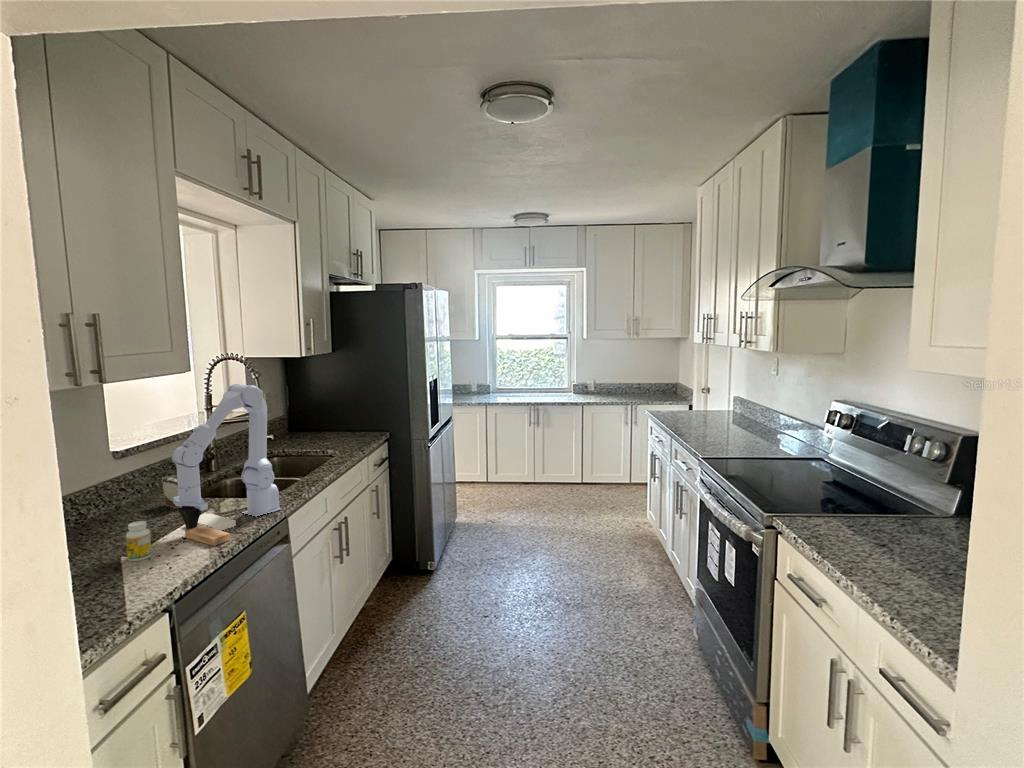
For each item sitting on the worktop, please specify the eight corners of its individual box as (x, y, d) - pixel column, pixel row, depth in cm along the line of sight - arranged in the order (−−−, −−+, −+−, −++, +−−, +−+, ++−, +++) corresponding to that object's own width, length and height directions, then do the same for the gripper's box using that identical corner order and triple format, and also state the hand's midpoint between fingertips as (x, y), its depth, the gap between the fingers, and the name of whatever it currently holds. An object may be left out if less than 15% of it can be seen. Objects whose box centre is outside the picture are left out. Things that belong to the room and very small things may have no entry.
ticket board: (209, 519, 173) (208, 512, 172) (235, 526, 166) (235, 519, 166) (185, 526, 166) (185, 519, 166) (212, 534, 159) (212, 527, 159)
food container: (199, 505, 187) (198, 477, 186) (181, 510, 181) (179, 482, 180) (181, 500, 193) (179, 473, 192) (163, 504, 188) (161, 477, 187)
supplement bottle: (155, 556, 144) (153, 522, 143) (133, 563, 139) (130, 528, 138) (145, 552, 146) (143, 518, 146) (123, 559, 142) (121, 524, 141)
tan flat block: (202, 531, 161) (201, 525, 161) (230, 540, 155) (230, 533, 154) (185, 537, 157) (185, 530, 157) (213, 546, 150) (213, 539, 150)
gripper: (161, 485, 158) (164, 529, 159) (189, 492, 151) (192, 538, 152) (185, 480, 164) (188, 522, 166) (213, 486, 157) (216, 530, 159)
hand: (191, 529), depth 159 cm, fingers closed
